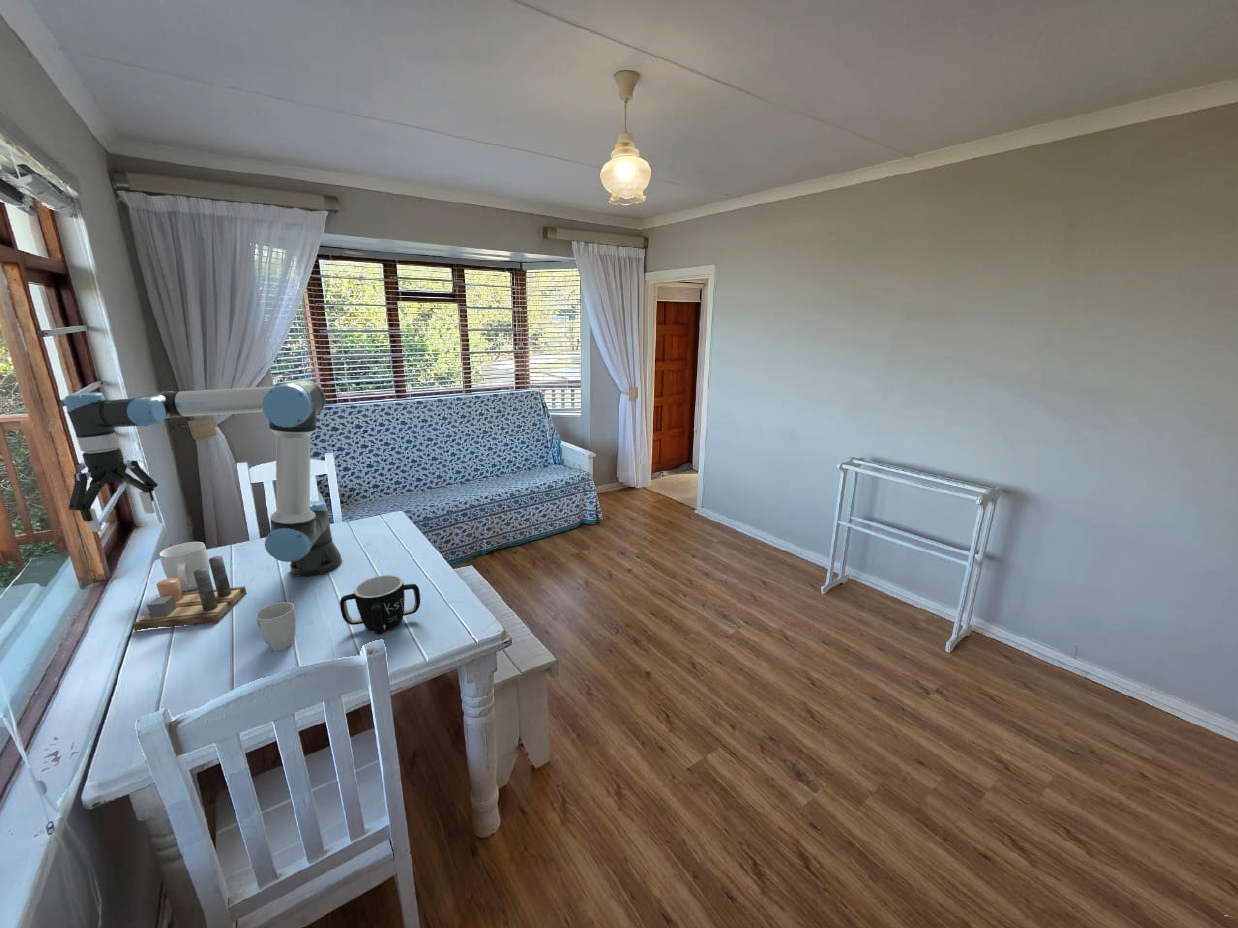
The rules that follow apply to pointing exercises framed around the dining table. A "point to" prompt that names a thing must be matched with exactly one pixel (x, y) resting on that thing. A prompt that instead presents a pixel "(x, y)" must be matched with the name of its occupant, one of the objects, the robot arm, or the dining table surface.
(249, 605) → the dining table surface
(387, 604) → the mug
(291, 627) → the cup
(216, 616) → the lane board
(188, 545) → the mug
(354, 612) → the dining table surface
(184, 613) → the strip
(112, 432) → the robot arm
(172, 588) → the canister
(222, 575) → the strip
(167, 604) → the rubber block
